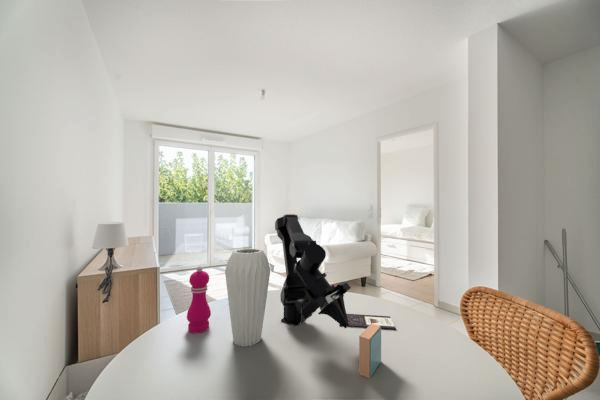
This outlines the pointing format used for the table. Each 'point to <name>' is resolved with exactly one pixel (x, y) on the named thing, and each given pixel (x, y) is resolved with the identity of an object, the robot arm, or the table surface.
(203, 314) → the pepper mill
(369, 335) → the block
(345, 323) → the robot arm
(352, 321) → the chocolate bar
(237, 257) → the vase
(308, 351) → the table surface
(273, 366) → the table surface
